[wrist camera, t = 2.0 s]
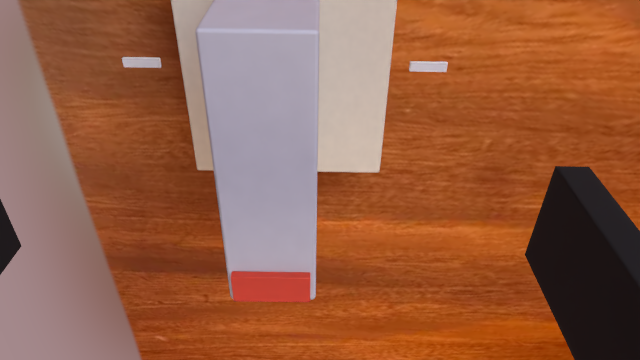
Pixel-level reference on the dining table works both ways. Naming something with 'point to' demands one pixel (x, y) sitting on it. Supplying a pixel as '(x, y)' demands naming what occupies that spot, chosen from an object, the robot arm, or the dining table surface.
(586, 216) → the robot arm
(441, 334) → the dining table surface
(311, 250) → the grey lever handle
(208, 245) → the dining table surface
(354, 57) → the tap base
